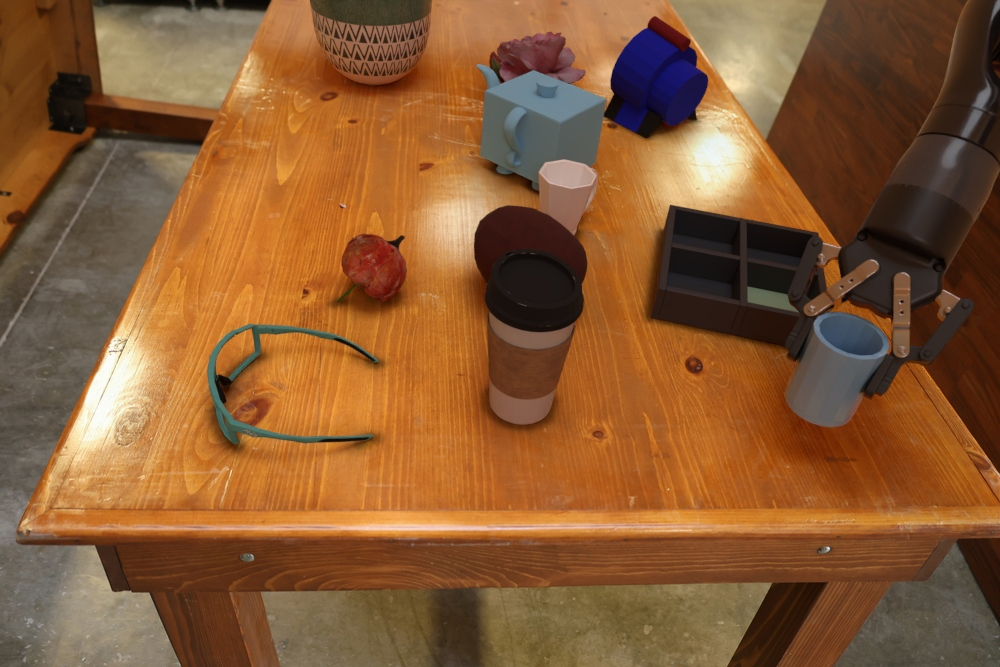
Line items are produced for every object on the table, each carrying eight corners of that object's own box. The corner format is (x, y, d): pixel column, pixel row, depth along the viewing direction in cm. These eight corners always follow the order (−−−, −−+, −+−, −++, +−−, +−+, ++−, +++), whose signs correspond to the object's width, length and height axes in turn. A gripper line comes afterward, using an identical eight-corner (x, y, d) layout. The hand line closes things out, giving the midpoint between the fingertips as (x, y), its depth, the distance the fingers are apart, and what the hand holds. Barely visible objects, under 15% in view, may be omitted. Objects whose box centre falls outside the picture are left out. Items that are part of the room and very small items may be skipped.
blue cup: (849, 387, 71) (883, 319, 65) (856, 434, 66) (894, 365, 61) (782, 373, 71) (811, 305, 66) (785, 418, 67) (816, 350, 62)
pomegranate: (365, 337, 82) (436, 277, 81) (317, 297, 77) (392, 233, 76) (351, 301, 87) (418, 244, 86) (306, 262, 83) (376, 201, 82)
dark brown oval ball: (545, 348, 79) (558, 266, 73) (446, 294, 85) (450, 214, 78) (600, 299, 86) (617, 220, 80) (506, 252, 92) (514, 175, 85)
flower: (603, 80, 126) (594, 18, 121) (544, 116, 119) (531, 51, 113) (538, 76, 136) (526, 18, 130) (479, 108, 129) (464, 48, 123)
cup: (519, 229, 96) (526, 171, 91) (568, 201, 102) (577, 145, 97) (563, 253, 93) (573, 194, 87) (611, 223, 99) (623, 166, 93)
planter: (410, 51, 137) (410, -83, 123) (450, 96, 124) (456, -48, 110) (300, 60, 130) (287, -80, 116) (331, 109, 117) (321, -42, 103)
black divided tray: (807, 260, 96) (818, 232, 93) (818, 352, 82) (832, 323, 80) (662, 232, 98) (669, 204, 95) (650, 317, 85) (658, 288, 82)
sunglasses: (225, 346, 76) (223, 307, 72) (378, 359, 78) (382, 321, 75) (192, 457, 65) (188, 416, 62) (371, 468, 68) (375, 429, 64)
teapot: (603, 167, 110) (620, 79, 101) (537, 207, 100) (549, 114, 92) (506, 124, 118) (513, 39, 109) (436, 157, 108) (438, 67, 100)
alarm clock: (648, 97, 130) (668, 5, 120) (707, 125, 123) (733, 30, 113) (599, 113, 123) (616, 18, 113) (658, 144, 117) (681, 45, 107)
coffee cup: (524, 360, 78) (541, 235, 68) (582, 409, 73) (609, 283, 63) (458, 394, 73) (465, 266, 64) (515, 449, 69) (533, 320, 59)
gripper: (844, 155, 64) (745, 330, 65) (1031, 221, 58) (919, 415, 58) (843, 188, 71) (753, 347, 71) (1010, 251, 65) (911, 425, 65)
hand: (828, 377), depth 65 cm, fingers closed on blue cup, 6 cm apart
